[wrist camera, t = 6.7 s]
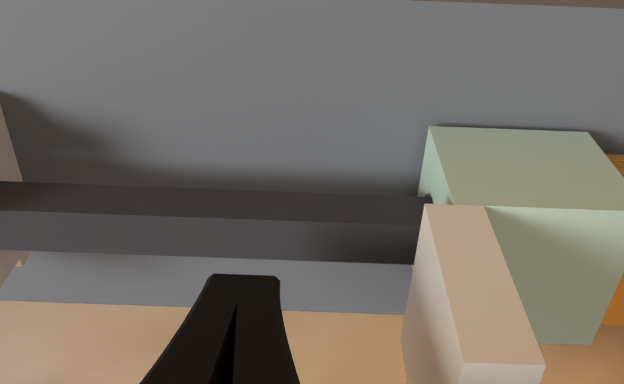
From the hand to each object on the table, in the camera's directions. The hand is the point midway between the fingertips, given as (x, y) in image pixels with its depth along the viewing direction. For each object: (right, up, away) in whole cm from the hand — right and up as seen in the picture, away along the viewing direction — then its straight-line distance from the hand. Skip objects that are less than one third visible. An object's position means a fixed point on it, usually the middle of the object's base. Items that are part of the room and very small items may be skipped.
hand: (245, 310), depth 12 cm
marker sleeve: (+6, +2, +4) cm, 7 cm away
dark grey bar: (+2, +2, +3) cm, 4 cm away
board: (+2, +3, +5) cm, 6 cm away
